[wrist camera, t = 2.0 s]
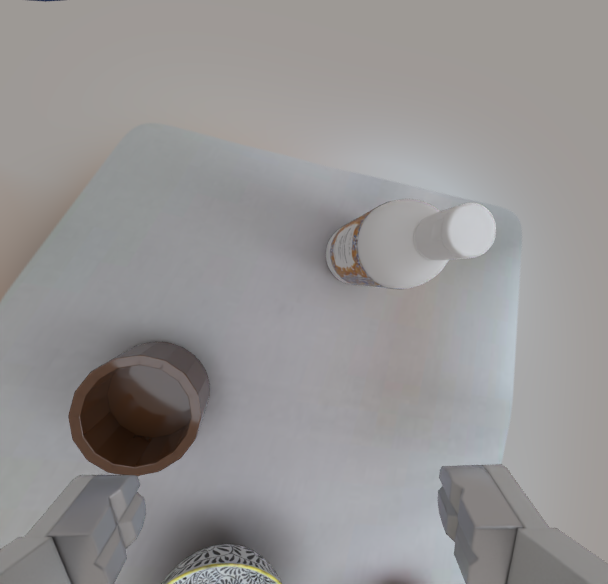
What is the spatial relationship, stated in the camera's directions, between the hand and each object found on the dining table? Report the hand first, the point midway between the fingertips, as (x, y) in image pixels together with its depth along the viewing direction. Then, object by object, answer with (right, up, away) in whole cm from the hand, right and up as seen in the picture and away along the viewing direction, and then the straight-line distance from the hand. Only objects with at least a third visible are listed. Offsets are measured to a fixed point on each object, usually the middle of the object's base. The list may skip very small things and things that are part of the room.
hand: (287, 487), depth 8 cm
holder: (-15, -5, +25) cm, 30 cm away
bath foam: (+6, +10, +28) cm, 30 cm away
